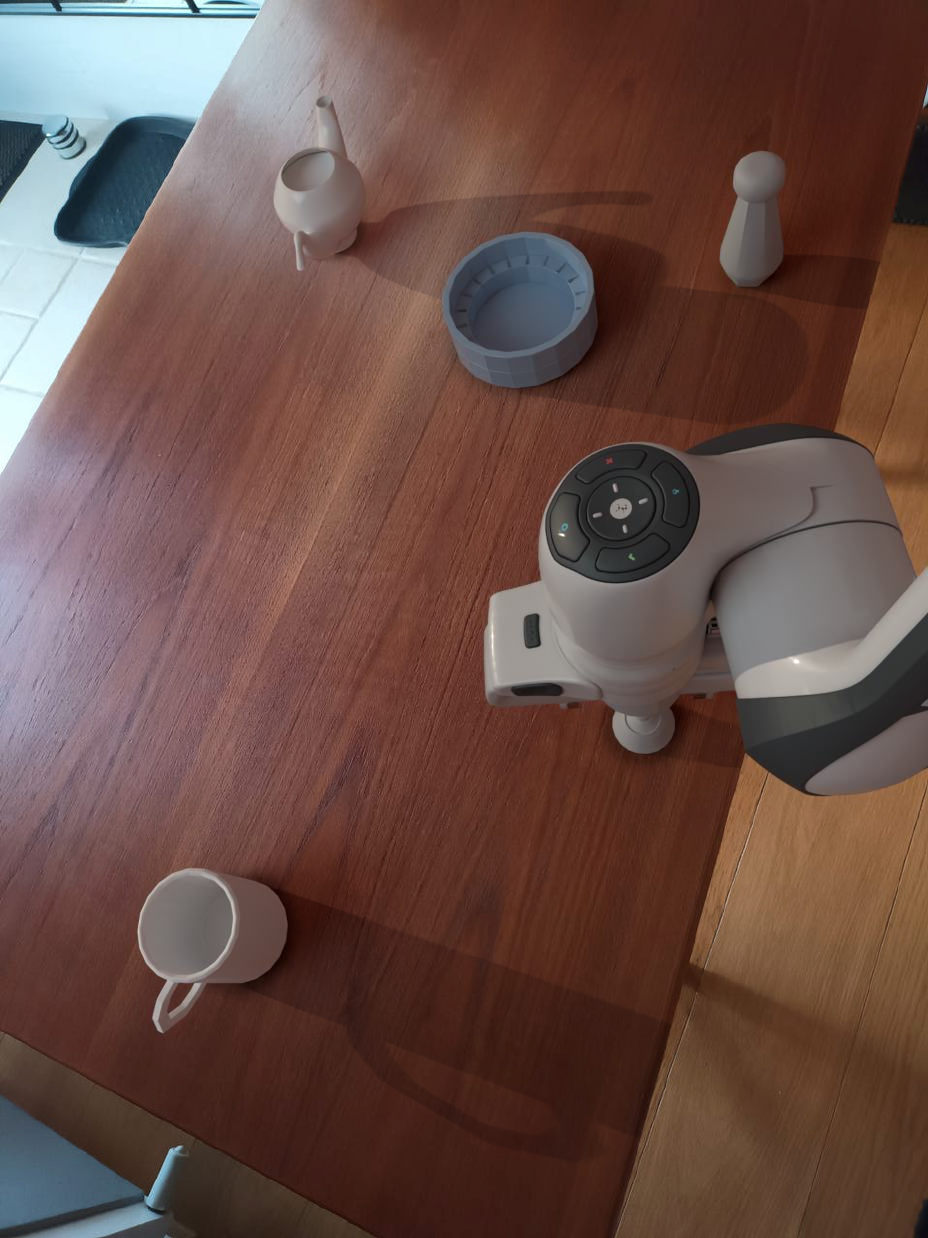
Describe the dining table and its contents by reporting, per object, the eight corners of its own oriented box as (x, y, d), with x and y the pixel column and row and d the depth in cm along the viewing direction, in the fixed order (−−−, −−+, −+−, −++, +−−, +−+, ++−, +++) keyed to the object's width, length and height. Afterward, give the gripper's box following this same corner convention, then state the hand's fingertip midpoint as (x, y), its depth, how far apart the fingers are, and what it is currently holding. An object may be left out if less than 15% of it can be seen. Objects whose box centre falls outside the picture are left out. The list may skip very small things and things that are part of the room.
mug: (161, 1008, 78) (94, 1012, 69) (221, 867, 82) (165, 853, 72) (244, 1048, 76) (186, 1056, 67) (303, 900, 79) (255, 890, 70)
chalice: (591, 755, 79) (570, 694, 62) (607, 677, 81) (590, 598, 64) (681, 772, 77) (684, 714, 60) (695, 692, 79) (701, 615, 62)
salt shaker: (775, 241, 93) (790, 131, 81) (786, 288, 90) (803, 182, 79) (713, 252, 94) (720, 146, 82) (723, 299, 91) (731, 197, 80)
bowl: (592, 260, 96) (588, 220, 91) (603, 380, 91) (599, 344, 86) (453, 282, 99) (441, 244, 94) (455, 400, 94) (443, 367, 89)
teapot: (279, 312, 102) (243, 251, 94) (312, 167, 109) (282, 98, 100) (364, 310, 100) (335, 247, 91) (392, 162, 106) (368, 90, 98)
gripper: (801, 564, 57) (775, 641, 70) (465, 596, 60) (498, 664, 73) (818, 664, 55) (788, 725, 67) (467, 691, 58) (501, 744, 71)
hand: (635, 693), depth 70 cm, fingers open, 8 cm apart
